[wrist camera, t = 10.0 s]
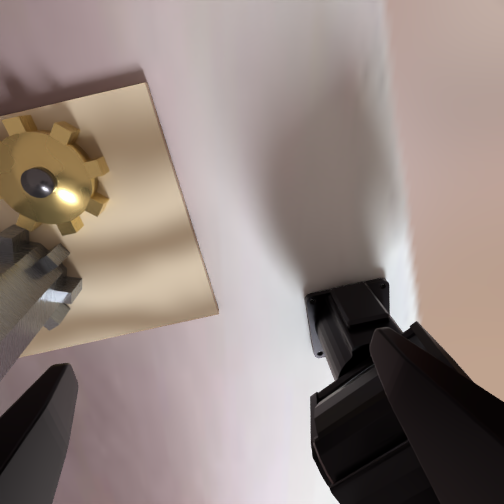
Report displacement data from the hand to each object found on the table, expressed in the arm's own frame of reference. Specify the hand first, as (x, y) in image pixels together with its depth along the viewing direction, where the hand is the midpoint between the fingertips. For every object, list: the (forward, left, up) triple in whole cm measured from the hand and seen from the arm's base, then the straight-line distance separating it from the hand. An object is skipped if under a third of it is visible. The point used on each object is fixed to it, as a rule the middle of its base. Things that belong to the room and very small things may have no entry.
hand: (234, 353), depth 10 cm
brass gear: (+5, +10, -13) cm, 17 cm away
